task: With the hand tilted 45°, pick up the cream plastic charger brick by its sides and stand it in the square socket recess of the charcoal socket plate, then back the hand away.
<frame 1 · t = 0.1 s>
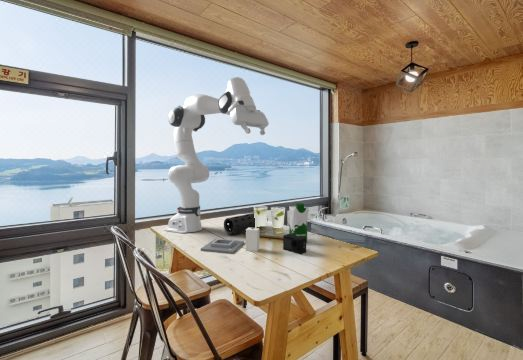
hand: (256, 133, 124), 54 cm above the table, tool tilted 30°, fingers open, 8 cm apart
socket plate: (223, 246, 135), on the table
digital camera: (293, 251, 129), on the table
muzzle brake: (246, 231, 164), on the table
milk carton: (298, 241, 144), on the table
charger brick: (252, 249, 131), on the table
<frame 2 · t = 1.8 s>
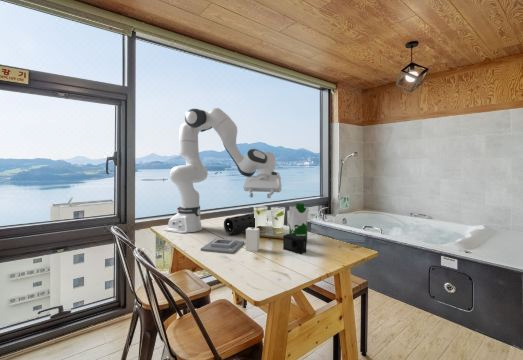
hand: (259, 197, 141), 23 cm above the table, tool tilted 45°, fingers open, 8 cm apart
nothing on the table moved.
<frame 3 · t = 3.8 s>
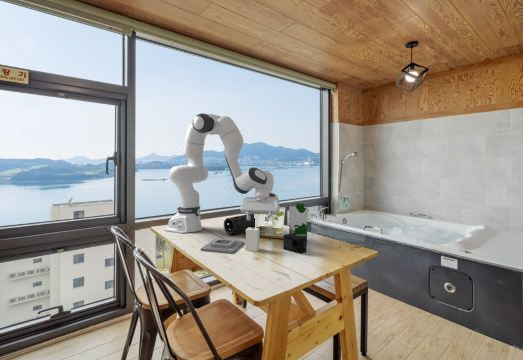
hand: (257, 220, 137), 13 cm above the table, tool tilted 45°, fingers open, 8 cm apart
nothing on the table moved.
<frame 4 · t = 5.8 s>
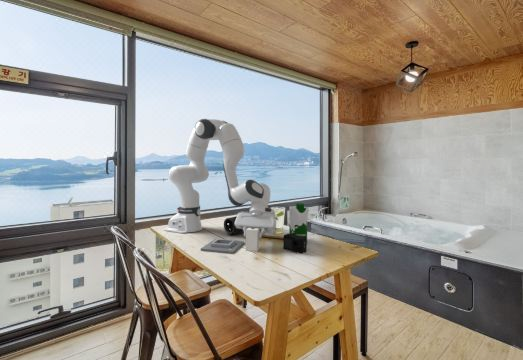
hand: (252, 236, 130), 6 cm above the table, tool tilted 45°, fingers closed on charger brick, 6 cm apart
charger brick: (252, 249, 131), on the table, touching gripper
everything else where it was.
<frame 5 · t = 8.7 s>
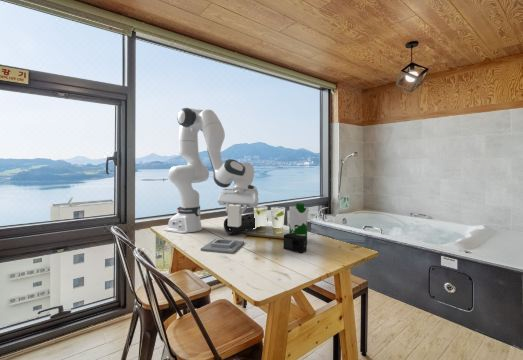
hand: (234, 212, 132), 17 cm above the table, tool tilted 45°, fingers closed on charger brick, 5 cm apart
charger brick: (234, 225, 133), point 11 cm above the table, touching gripper
when the fingers open (9 cm above the table, at t = 11.4 s): charger brick drops 1 cm, resting on socket plate.
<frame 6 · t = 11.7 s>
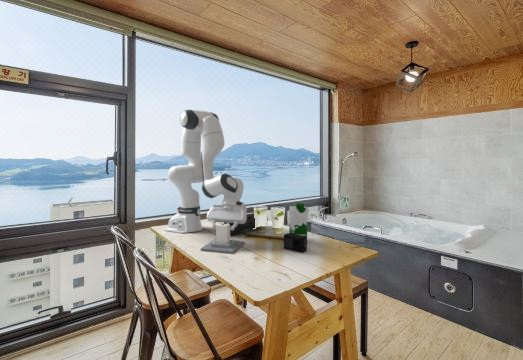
hand: (222, 229, 133), 9 cm above the table, tool tilted 45°, fingers open, 8 cm apart
charger brick: (223, 244, 135), point 1 cm above the table, touching socket plate
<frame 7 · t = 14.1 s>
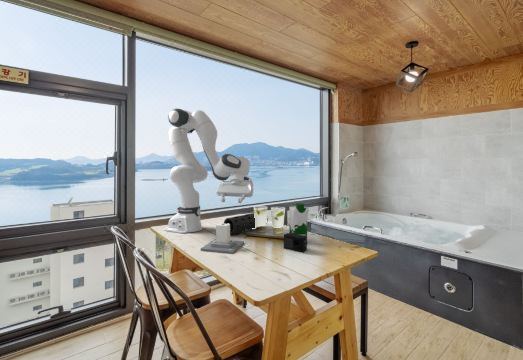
hand: (231, 201, 144), 20 cm above the table, tool tilted 45°, fingers open, 8 cm apart
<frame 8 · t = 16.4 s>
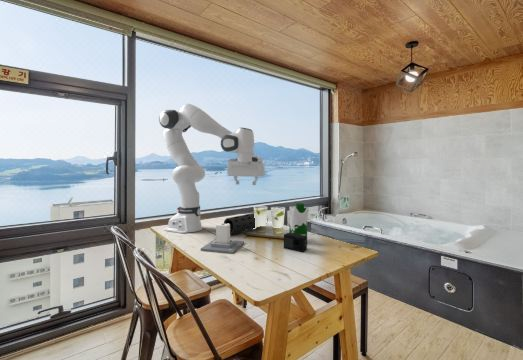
hand: (245, 184, 147), 29 cm above the table, tool pointing down, fingers open, 8 cm apart
at the end: charger brick 0.0 cm off-centre on the socket plate, point 1.0 cm above the socket plate's base; charger brick tilted 0°; the gripper is holding nothing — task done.
